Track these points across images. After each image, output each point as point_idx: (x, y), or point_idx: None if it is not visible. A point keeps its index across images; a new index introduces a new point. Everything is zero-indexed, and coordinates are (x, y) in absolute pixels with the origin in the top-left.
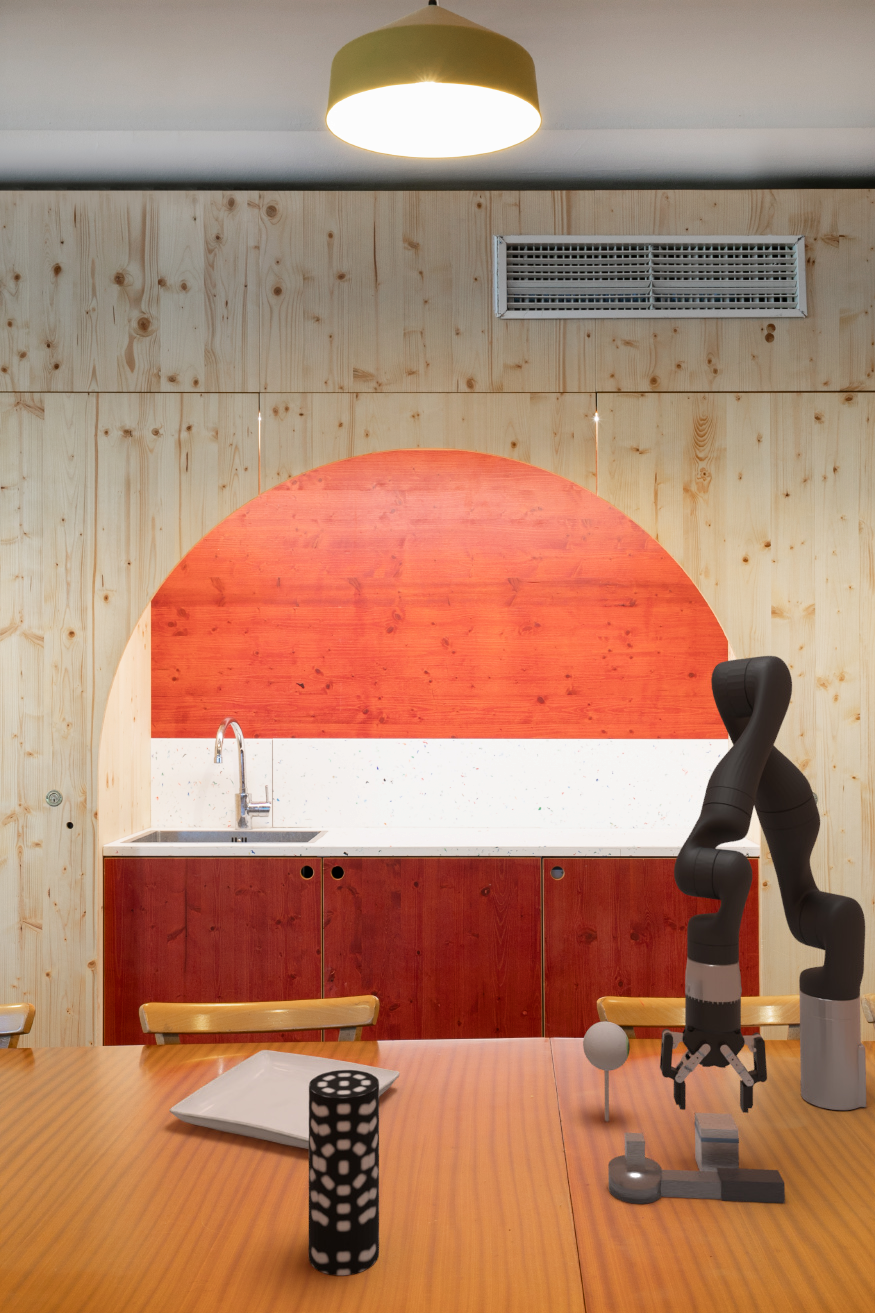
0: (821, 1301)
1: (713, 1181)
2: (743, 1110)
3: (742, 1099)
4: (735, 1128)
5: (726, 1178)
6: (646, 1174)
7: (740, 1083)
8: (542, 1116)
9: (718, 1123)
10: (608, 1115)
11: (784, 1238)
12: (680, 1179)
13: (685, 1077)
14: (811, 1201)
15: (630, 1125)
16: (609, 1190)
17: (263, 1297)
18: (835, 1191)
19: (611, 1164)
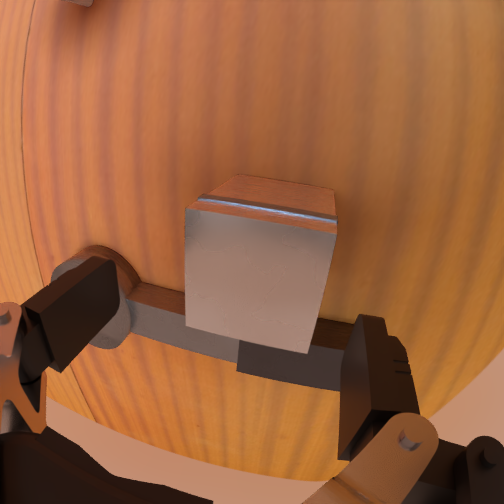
0: (287, 478)
1: (223, 358)
2: (340, 372)
3: (347, 387)
4: (301, 345)
5: (248, 367)
6: (102, 334)
7: (364, 408)
8: (14, 28)
9: (252, 307)
10: (82, 2)
11: (305, 425)
12: (161, 339)
13: (43, 394)
14: (412, 362)
15: (127, 7)
16: None
17: None
18: (474, 336)
19: None
